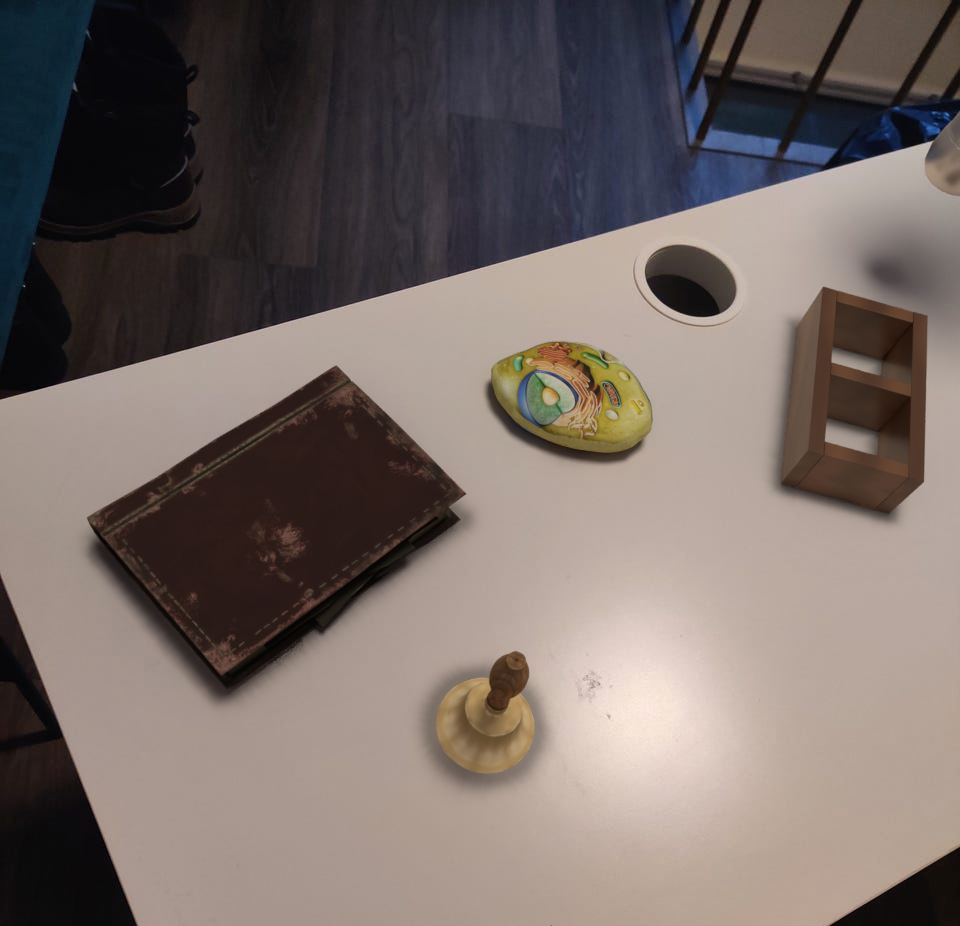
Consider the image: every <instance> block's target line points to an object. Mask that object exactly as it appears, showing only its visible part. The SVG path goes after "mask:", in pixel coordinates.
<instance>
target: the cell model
mask: <svg viewBox="0 0 960 926" xmlns="http://www.w3.org/2000/svg"><path fill="white" fill-rule="evenodd" d="M490 373H491V374H490V381H491V385H492V388H493V392H494V395H495V397H496V400H497V401H498V403H499V404H500V405H501V407H502V408H503V409H504V410H505V412H506V413H507V414H508V415H509V416H510V418H511V419H512V420H513V421H514V422H515V423H516V424H517V425H518V426H519V427H520V428H522V429H524V430H525V431H526V432H529V433H531V434H533V435H535V436H537V437H539V438H541V439H543V440H545V441H548V442H551V443H553V444H557V445H558V446H562V447H567V448H570V449H575V450H578V451H579V450H580V451H586V452H596V453H604V454H605V453H606V454H607V453H609V454H610V453H618V452H622V451H626V450H628V449H631V448H633V447H634V446H636V445H637V444H638V443H640V442H641V441H642V440H644V439H645V438H646V437H647V436H648V435H649V434H650V433H651V431H652V428H653V421H654V420H653V419H654V418H653V407H652V403H651V400H650V398H649V396H648V394H647V393H646V390H645V389H644V387H643V386H642V384H641V382H640V380H639V379H638V377H637V376H636V375H635V373H634V372H633V371H632V370H631V369H630V368H629V367H628V366H627V365H626V363H624V362H622V361H621V360H620V359H619V358H618V357H616V356H614V355H612V354H611V353H609V352H608V351H606V350H605V349H601V348H600V347H597V346H595V345H592V344H589V343H586V342H585V343H584V342H578V341H577V342H576V341H566V340H552V341H546V342H542V343H539V344H537V345H534V346H532V347H530V348H528V349H525V350H522V351H518V352H515V353H513V354H511V355H509V356H507V357H505V358H501V359H500V360H498V361H497V362H495V363H494V364H493V365H492V367H491V370H490Z"/></svg>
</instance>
